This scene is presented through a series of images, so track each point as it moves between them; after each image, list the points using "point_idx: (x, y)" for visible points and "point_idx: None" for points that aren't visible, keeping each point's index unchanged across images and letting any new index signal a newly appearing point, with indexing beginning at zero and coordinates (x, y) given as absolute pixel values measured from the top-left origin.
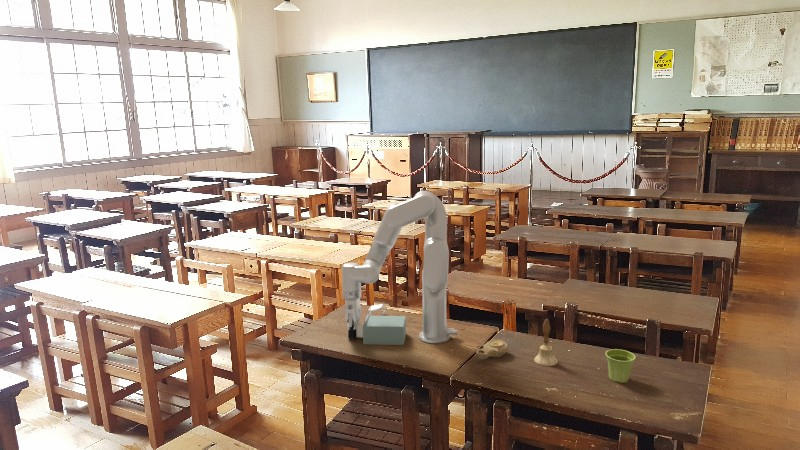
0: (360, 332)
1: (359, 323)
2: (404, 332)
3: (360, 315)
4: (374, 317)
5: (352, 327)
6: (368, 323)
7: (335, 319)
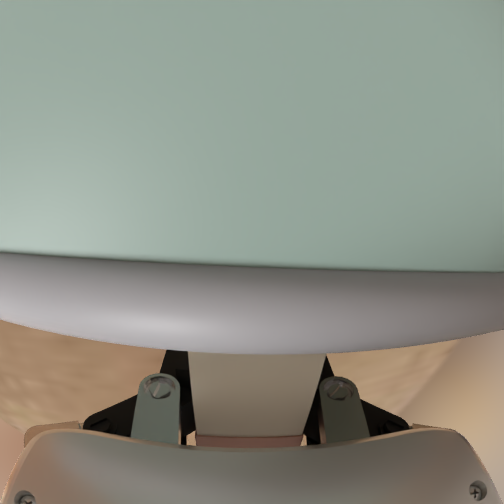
0: None
1: (223, 384)
2: None
3: (108, 466)
4: (14, 111)
5: (403, 422)
6: (469, 234)
7: (5, 403)
